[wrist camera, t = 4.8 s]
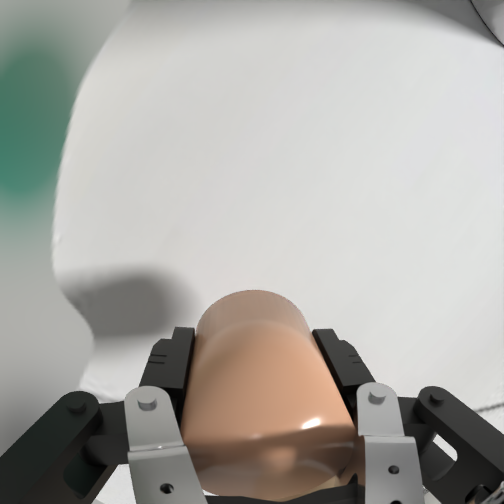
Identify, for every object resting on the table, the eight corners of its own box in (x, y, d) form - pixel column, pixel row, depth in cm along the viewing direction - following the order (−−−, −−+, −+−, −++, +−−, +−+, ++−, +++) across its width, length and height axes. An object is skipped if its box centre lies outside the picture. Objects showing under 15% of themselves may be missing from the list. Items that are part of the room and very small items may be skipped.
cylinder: (315, 290, 12) (380, 394, 6) (299, 382, 13) (334, 491, 7) (193, 288, 11) (165, 401, 5) (197, 382, 12) (186, 498, 7)
